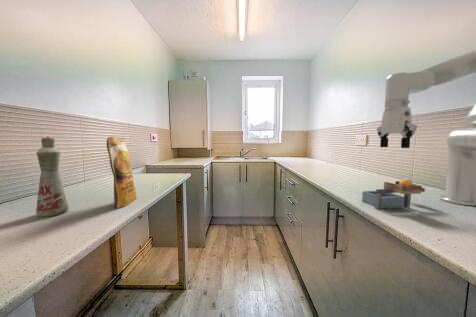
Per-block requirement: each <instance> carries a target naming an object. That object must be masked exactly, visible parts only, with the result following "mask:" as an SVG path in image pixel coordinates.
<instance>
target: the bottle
mask: <svg viewBox="0 0 476 317" xmlns="http://www.w3.org/2000/svg"><path fill="white" fill-rule="evenodd" d="M55 140H56V139H55V138H54V137H49V136H46V137H41V139H40V141H41V146H42V147H40V148H39V149H38V150H37V151H36V156H37V161H38V165H39V168H40V176H39V182H38V183H39V184H38V192H37V201H36V210H35V214H36V215H37V216H38V217H41V218H42V217H43V218H44V217H53V216H57V215H58V216H59V215H62V214H64V213H66V212H68V210H69V208H70V206H69V203H68V200H67V198H66V194H65V189H64V186H63V183H62V178H61V175H60V171H59V168H60V167H59V166H60V156H61V151H60V150H59V149H57V148H56V147H55Z"/></svg>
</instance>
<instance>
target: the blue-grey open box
mask: <svg viewBox="0 0 476 317" xmlns="http://www.w3.org/2000/svg"><path fill="white" fill-rule="evenodd" d="M376 194H381V195H382V202H381V210H388V209H389V210H390V209H392V210H394V209H404V207H403V205H404V196H403V195H399V194H397V193H376V190H364V191H362V194H361V195H362V196H361V200H362V202H363V203H366V204H367V205H370V206H373V207H375V197H376Z"/></svg>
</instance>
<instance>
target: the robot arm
mask: <svg viewBox="0 0 476 317" xmlns="http://www.w3.org/2000/svg"><path fill="white" fill-rule="evenodd" d="M474 73H475V74H476V49H475V50H472V51H470V52H469V51H468V52H467V53H466V52H465V53H464V54H461V55H459V56H455V57H452V58H450V59H447V60H444V61H442V62H439V63H437V64H433V66H429V67H428V68H426V69H425V68H424V69H423V70H420V71H416V72H397V73H396V72H395V73H392V74H390V75H388V76H387V77H386V79H385V91H384V92H385V93H384V95H385V96H384V110H383V113H382V118H381V125H380V126H377V128H376V132H377V135H378V136H379V139H380V147H379V148H388V147H389V137H388V136H390V135H391V134H400V135H401V136H402V137H401V139H400V141H401V142H400V148H401V149H410V147H411V138H413V135H414V134H416V130H417V129H418V125H417V124H415V123H413V120H412V119H413V118H412V117H413V116H412V110H411V107H410V106H409V104H410V103H411V101H410V99H409V95H410V94H411V95H412V94H416V93H419V92H424V91H427V90H429V89H430V88H432V87H436V86H439V85H444V84H447V83H450V82H453V81H455V80H458V79H460V78H463V77H466V76H469V75H472V74H474ZM465 124H466V126H467V127H461V128H457V129H453V130H452V131H451V132H449V133H448V135H447V137H446V144H447V150H448V161H447V162H448V163H447V171H446V182H445V184H446V185H445V192H444V193H445V194H442V195H440V196H439V199H440V200H442V201H444V202H448V203H452V204H457V205H463V206H472V207H473V206H475V207H476V102H475V103H474V105H473V106H472V108H471V109H470V110H469V113H468V114H467V115H466V117H465Z"/></svg>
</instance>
